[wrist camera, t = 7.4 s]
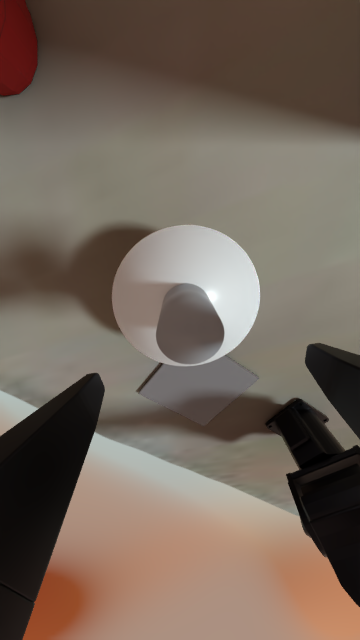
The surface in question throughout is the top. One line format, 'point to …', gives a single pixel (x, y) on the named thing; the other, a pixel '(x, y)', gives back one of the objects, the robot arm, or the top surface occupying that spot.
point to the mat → (198, 387)
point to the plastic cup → (16, 47)
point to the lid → (185, 295)
